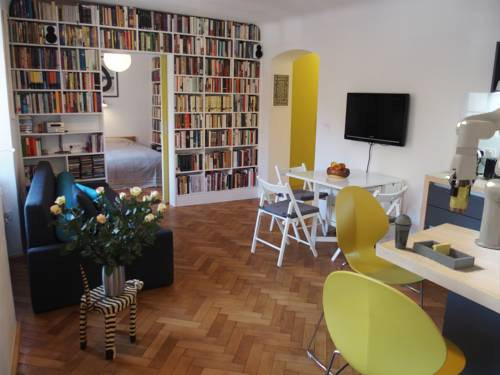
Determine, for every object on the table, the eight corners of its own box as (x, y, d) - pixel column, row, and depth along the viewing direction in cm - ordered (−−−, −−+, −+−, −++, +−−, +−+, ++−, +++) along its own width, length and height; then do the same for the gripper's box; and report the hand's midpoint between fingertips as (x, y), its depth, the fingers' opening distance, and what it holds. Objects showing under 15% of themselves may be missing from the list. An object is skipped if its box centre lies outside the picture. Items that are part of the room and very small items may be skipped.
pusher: (439, 250, 180) (441, 240, 179) (449, 254, 175) (450, 243, 174) (425, 252, 177) (426, 241, 176) (434, 256, 172) (436, 245, 171)
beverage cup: (389, 244, 189) (394, 202, 185) (405, 245, 189) (410, 203, 185) (394, 250, 182) (399, 206, 178) (411, 250, 182) (416, 207, 178)
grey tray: (431, 248, 186) (432, 239, 185) (473, 266, 166) (475, 257, 165) (412, 250, 182) (413, 242, 181) (453, 269, 162) (455, 260, 161)
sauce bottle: (467, 214, 163) (475, 165, 159) (451, 212, 165) (458, 163, 161) (463, 210, 170) (470, 162, 166) (447, 208, 171) (453, 161, 167)
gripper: (473, 151, 169) (467, 193, 172) (442, 150, 163) (436, 194, 166) (490, 153, 162) (483, 197, 166) (458, 153, 156) (451, 199, 159)
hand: (459, 195), depth 166 cm, fingers closed on sauce bottle, 6 cm apart
